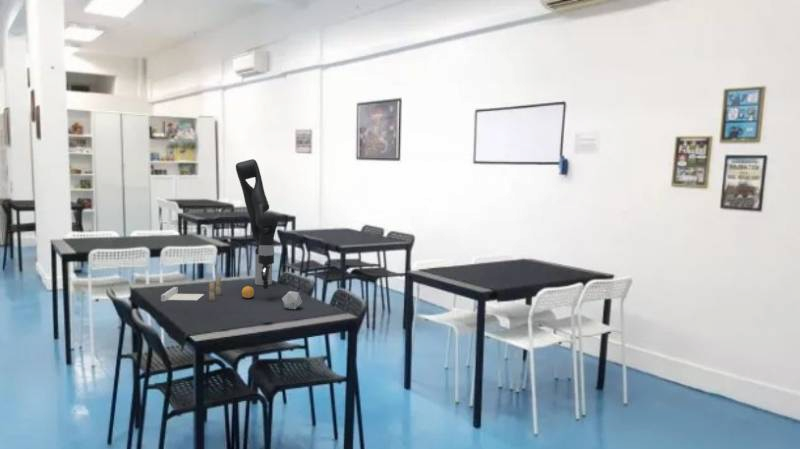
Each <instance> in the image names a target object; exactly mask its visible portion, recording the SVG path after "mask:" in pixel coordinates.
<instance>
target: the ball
mask: <svg viewBox="0 0 800 449" xmlns="http://www.w3.org/2000/svg"><path fill="white" fill-rule="evenodd" d="M254 294H255V289H254V288H253V287H252V286H249V285H246V286H244V287H243V288H242V290H241V295H242V297H244V298H245V299H250V298H252V297H253V296H254Z"/></svg>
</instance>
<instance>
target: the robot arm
mask: <svg viewBox="0 0 800 449" xmlns="http://www.w3.org/2000/svg"><path fill="white" fill-rule="evenodd" d="M235 171H236V175H237V177H238V182H239V183H240V187H241V190H242V194H243V198H244V203H245V207H246V210H247V213H248V217H249V222H250V228H251V235H252V239H253V240H254V241H256V242H259V245H258V247H257V248H255V251H254V252H255V253H254V254H255V255H254V258H255V260H254V261H255V262H254V269H255V270H254V271H255V273H254V279H255V280H254V284H255V286H262V287H263V289H265V290H267V289H269V286H270V285H271V286H272V284H273V264H274V263H275V244H274V242H275V235H276V230H277V228H278V227H277V226H278V222H279V220H278V216H277V215H276V214H275V213H267V211H269V210H270V204H269V201H268V199H267V196H266V192H265V189H264V184H263V179H262V174H261V172H260V171H261V170H260V167H259V165H258V163H257V161H256V160H255V159H253V158H252V159H248V160H243V161H239V162H237V163H236V164H235ZM253 178H254V179H255V183H254V186H251V185H250V184H249V183H248V181H247V180H249V179H253Z"/></svg>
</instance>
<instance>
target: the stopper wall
mask: <svg viewBox="0 0 800 449" xmlns="http://www.w3.org/2000/svg"><path fill="white" fill-rule="evenodd" d="M175 294H179V287H178V286H173V287H171V288H170V289H169V290H167V291H165V292H164V293H162V294H161V295H160V302H167V301H169V300H168V299H169V298H171V297H172V296H173V295H175Z"/></svg>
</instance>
